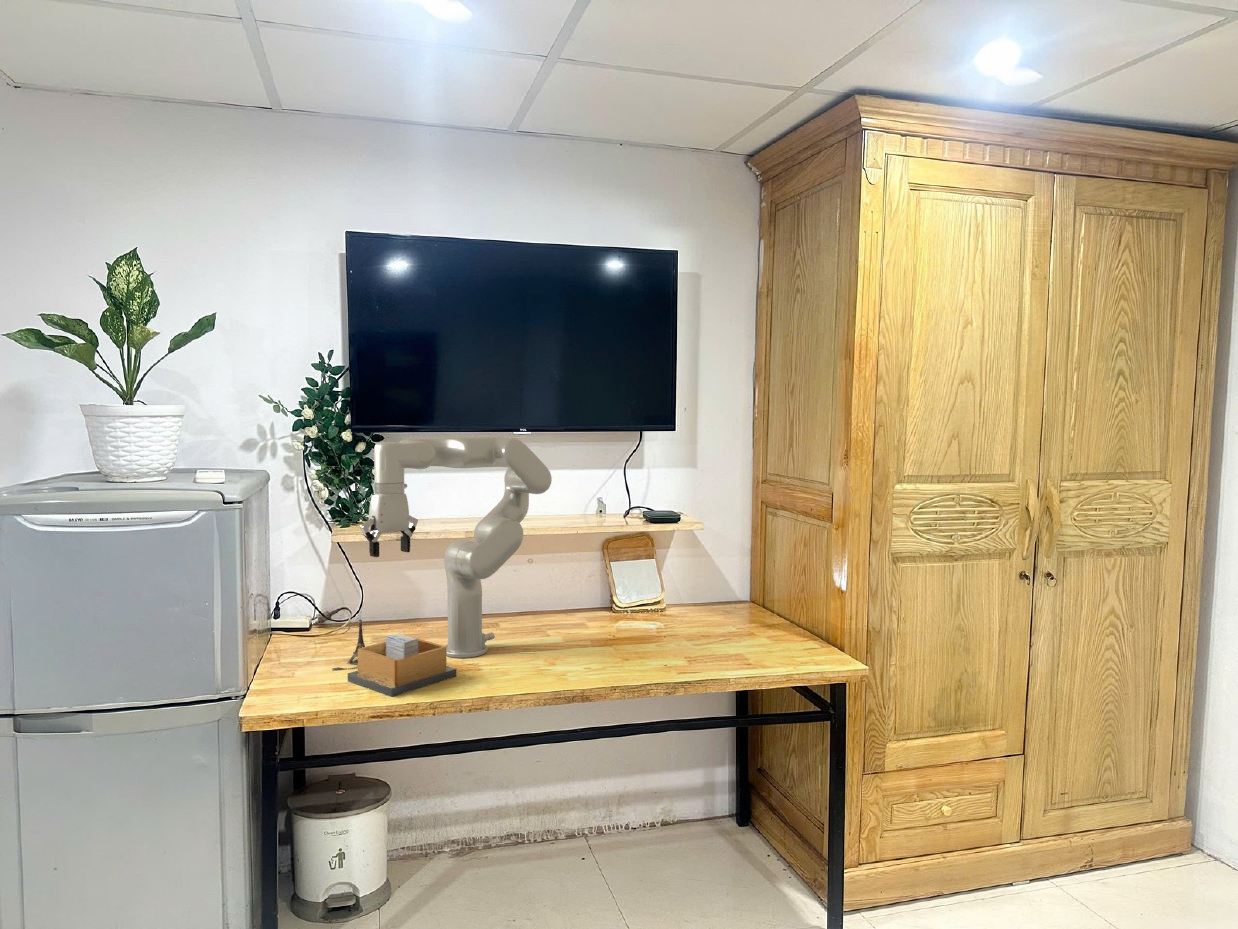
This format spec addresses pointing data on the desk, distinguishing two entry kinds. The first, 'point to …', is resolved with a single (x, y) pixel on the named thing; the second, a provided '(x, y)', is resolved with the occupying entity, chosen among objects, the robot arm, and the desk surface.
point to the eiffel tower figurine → (359, 645)
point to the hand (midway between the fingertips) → (390, 554)
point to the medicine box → (401, 646)
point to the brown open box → (401, 668)
